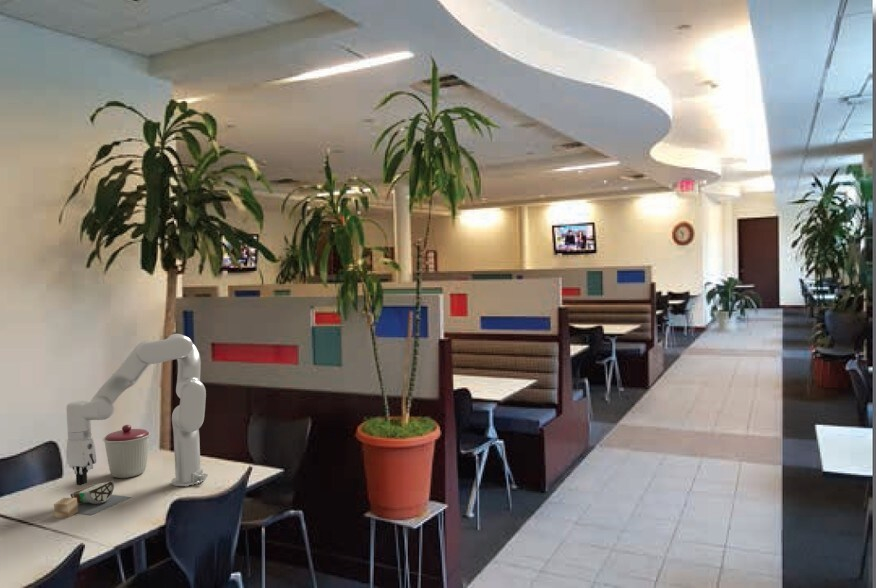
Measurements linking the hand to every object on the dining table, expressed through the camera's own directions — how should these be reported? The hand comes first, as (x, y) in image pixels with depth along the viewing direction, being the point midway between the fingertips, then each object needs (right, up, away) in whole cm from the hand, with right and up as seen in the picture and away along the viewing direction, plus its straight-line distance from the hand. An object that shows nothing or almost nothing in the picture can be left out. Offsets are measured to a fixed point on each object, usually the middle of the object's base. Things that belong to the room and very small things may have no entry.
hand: (81, 484), depth 233 cm
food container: (0, -5, 0) cm, 5 cm away
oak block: (+1, -7, -12) cm, 14 cm away
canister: (+1, -6, +33) cm, 33 cm away
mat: (+8, -7, -3) cm, 11 cm away
